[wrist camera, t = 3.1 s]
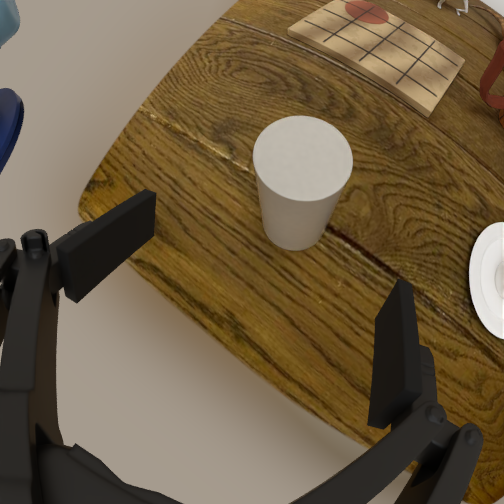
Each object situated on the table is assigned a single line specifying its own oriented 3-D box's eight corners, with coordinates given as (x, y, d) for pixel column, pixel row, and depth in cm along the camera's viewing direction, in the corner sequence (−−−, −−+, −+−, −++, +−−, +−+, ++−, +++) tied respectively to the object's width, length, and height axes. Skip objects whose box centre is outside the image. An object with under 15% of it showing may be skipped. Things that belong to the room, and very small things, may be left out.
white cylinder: (248, 223, 28) (231, 160, 17) (289, 178, 29) (294, 101, 18) (299, 264, 27) (313, 222, 16) (338, 216, 27) (371, 152, 17)
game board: (287, 35, 33) (287, 27, 32) (346, -2, 35) (347, -8, 34) (427, 118, 29) (431, 111, 28) (462, 65, 31) (466, 59, 30)
